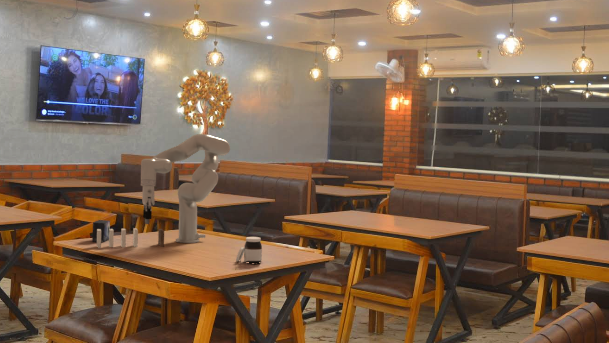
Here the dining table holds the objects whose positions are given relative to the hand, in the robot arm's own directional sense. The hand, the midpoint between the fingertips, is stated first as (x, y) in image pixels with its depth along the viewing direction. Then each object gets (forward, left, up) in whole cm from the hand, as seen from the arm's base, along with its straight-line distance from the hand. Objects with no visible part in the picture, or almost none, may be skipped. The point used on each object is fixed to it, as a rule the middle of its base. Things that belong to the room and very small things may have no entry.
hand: (147, 217), depth 367 cm
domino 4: (+6, 0, -14) cm, 16 cm away
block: (-7, 0, -14) cm, 16 cm away
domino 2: (+18, 0, -14) cm, 23 cm away
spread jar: (-38, +54, -15) cm, 68 cm away
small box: (+21, -20, -15) cm, 32 cm away
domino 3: (+12, 0, -14) cm, 19 cm away
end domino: (0, 0, -3) cm, 3 cm away
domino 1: (+24, 0, -14) cm, 28 cm away
